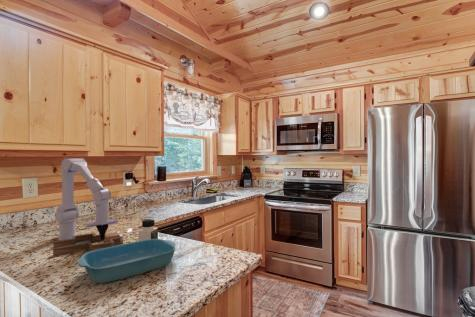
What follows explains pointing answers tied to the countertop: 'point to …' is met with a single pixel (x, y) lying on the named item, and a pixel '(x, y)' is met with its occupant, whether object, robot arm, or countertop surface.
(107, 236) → the block
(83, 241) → the trap lane
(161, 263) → the casserole dish
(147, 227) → the medicine bottle
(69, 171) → the robot arm
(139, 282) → the countertop surface
